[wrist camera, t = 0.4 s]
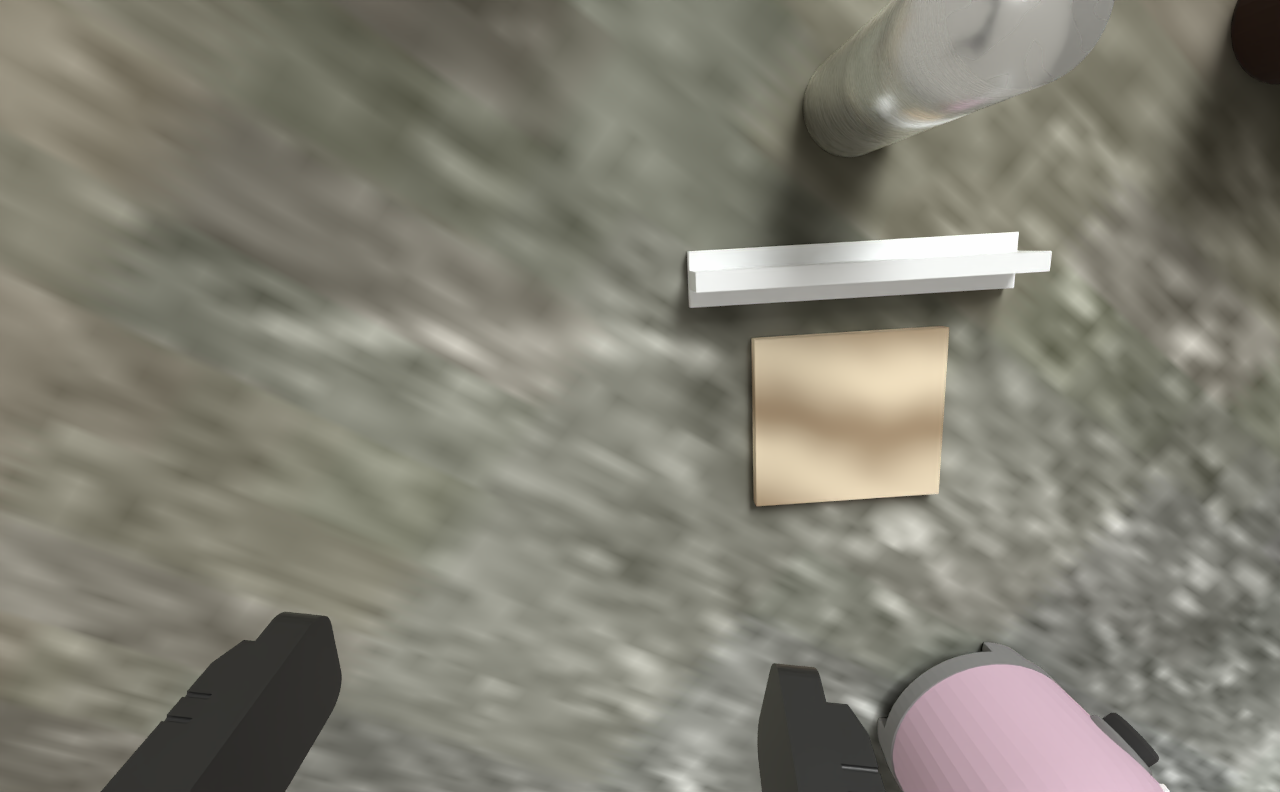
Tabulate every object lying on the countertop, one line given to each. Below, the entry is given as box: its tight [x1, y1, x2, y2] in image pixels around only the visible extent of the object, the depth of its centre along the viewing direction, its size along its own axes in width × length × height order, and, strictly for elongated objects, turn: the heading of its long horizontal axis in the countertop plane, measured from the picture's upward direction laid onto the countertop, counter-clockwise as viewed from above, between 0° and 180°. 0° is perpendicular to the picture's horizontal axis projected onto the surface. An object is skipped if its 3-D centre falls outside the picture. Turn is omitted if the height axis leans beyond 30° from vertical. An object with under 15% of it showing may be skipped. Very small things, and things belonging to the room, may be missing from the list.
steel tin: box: [803, 0, 1114, 157], centre depth 25 cm, size 5×5×14 cm
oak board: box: [751, 326, 949, 506], centre depth 35 cm, size 10×11×1 cm
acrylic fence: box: [687, 232, 1052, 308], centre depth 32 cm, size 3×18×4 cm, turn 93°
